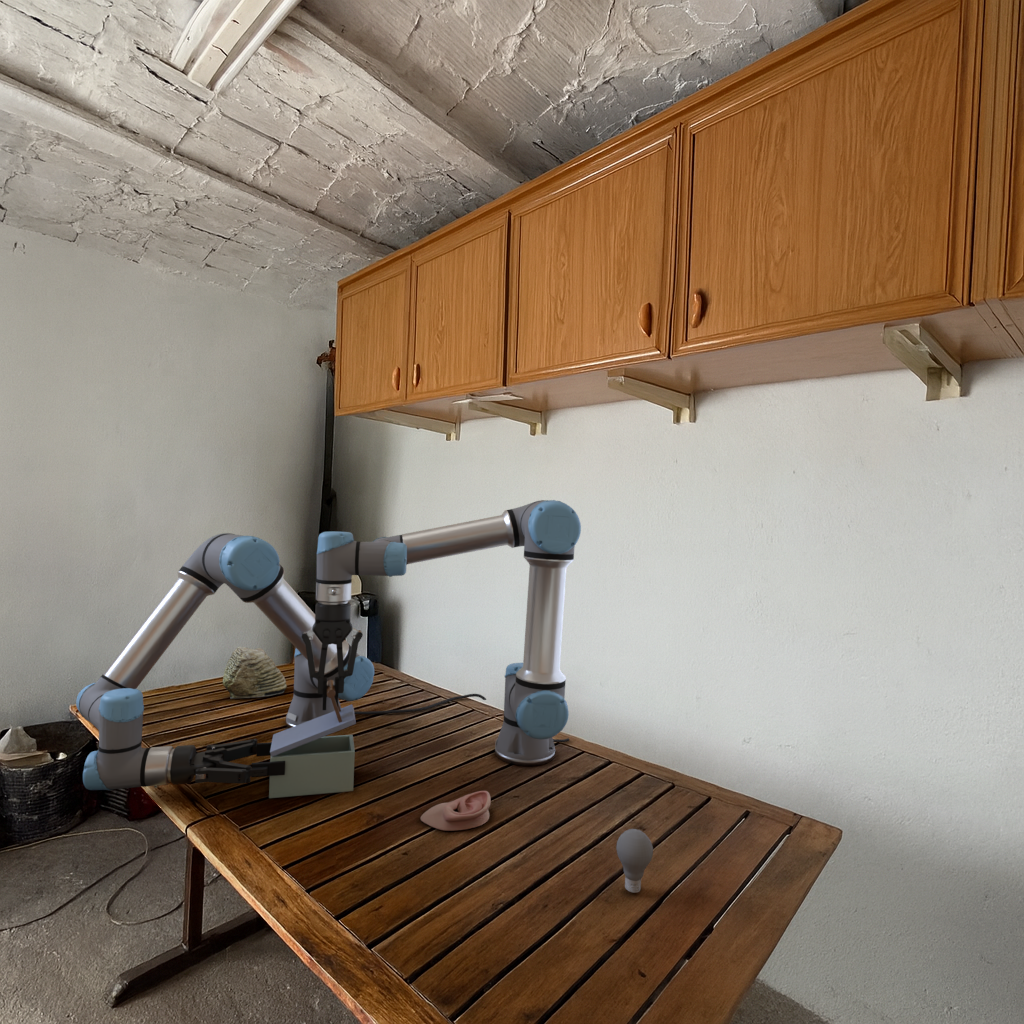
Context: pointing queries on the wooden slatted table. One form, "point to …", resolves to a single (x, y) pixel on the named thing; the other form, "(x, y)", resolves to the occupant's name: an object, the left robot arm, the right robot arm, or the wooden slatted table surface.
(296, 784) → the chest
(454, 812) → the anatomical model
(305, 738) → the lid
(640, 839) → the light bulb
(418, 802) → the wooden slatted table surface
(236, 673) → the fossil
